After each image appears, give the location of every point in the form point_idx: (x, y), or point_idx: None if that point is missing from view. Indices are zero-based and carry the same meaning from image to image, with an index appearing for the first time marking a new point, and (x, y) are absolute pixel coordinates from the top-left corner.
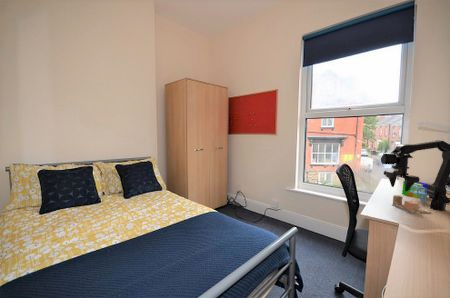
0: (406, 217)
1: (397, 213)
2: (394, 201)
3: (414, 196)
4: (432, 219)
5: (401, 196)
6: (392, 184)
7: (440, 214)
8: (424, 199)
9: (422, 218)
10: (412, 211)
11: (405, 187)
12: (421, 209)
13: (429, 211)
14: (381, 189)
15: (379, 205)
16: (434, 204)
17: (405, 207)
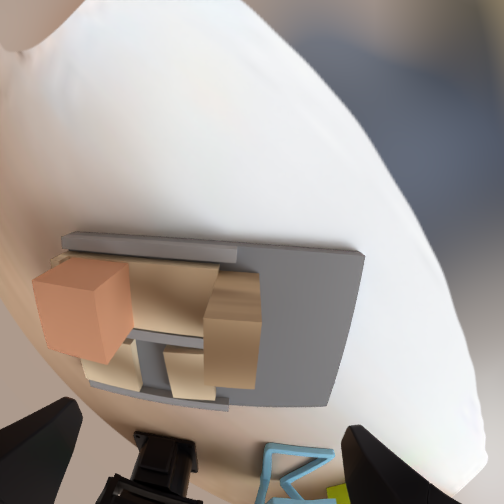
0: (50, 166)
1: (106, 156)
2: (238, 286)
3: (344, 488)
4: None
5: (209, 378)
6: (361, 465)
7: (114, 417)
8: (260, 492)
9: (41, 265)
10: (59, 255)
11: (26, 433)
12: (109, 366)
13: (86, 377)
14: (475, 421)
15: (291, 149)
16: (143, 462)
17: (108, 264)
